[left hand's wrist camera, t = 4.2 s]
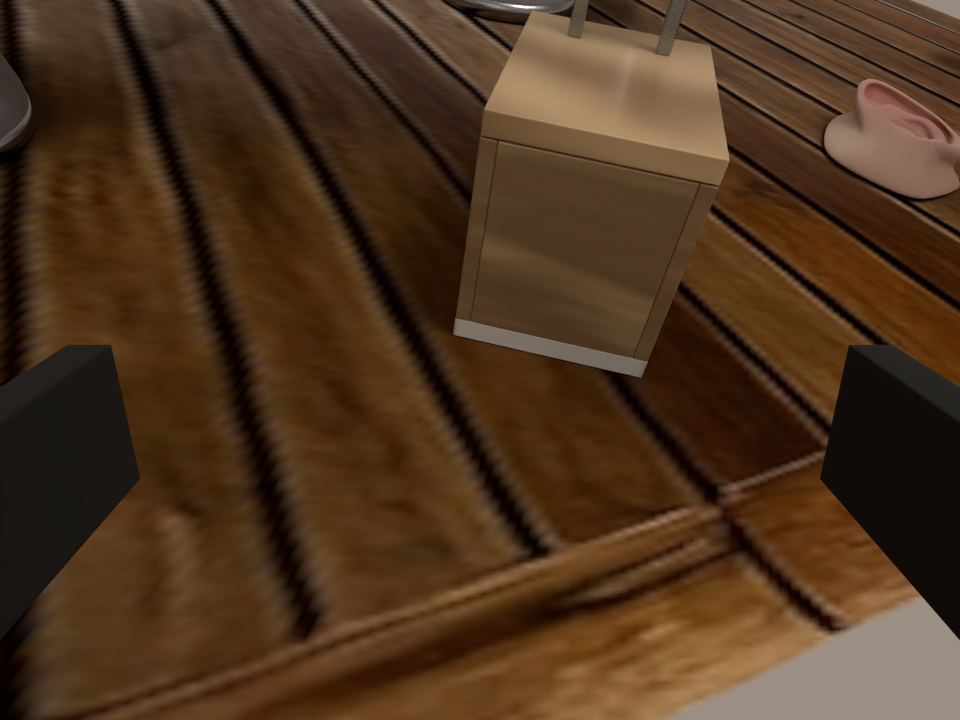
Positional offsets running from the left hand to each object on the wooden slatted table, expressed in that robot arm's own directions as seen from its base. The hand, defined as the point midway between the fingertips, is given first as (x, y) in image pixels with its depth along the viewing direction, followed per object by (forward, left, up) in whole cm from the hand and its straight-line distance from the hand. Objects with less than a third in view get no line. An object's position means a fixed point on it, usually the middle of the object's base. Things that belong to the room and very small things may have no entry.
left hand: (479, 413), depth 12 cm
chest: (-17, +16, -14) cm, 27 cm away
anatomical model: (-22, +54, -14) cm, 60 cm away
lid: (-18, +17, -3) cm, 24 cm away
